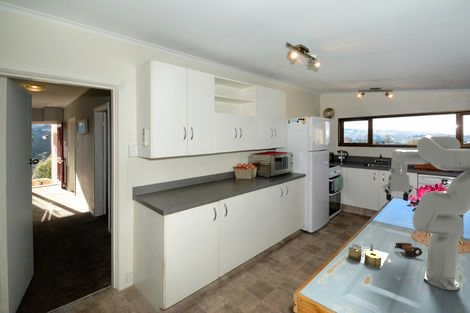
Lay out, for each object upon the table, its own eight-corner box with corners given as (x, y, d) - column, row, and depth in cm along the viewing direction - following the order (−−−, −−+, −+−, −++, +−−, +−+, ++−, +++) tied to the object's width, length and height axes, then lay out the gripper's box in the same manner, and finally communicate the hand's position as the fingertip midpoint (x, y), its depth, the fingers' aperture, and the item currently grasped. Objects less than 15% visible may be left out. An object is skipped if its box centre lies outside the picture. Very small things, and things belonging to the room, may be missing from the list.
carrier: (379, 272, 112) (380, 258, 111) (344, 259, 123) (344, 247, 122) (388, 256, 126) (389, 244, 126) (356, 246, 137) (356, 235, 137)
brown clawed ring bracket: (395, 258, 125) (392, 242, 129) (397, 260, 132) (394, 244, 135) (424, 259, 118) (420, 242, 122) (425, 261, 125) (421, 244, 128)
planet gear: (379, 267, 113) (379, 259, 112) (362, 262, 117) (363, 254, 117) (382, 262, 118) (383, 254, 117) (366, 257, 123) (367, 249, 122)
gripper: (388, 172, 132) (386, 202, 134) (419, 172, 132) (416, 202, 134) (379, 170, 140) (378, 198, 141) (409, 170, 140) (407, 199, 141)
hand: (397, 200), depth 137 cm, fingers open, 9 cm apart
